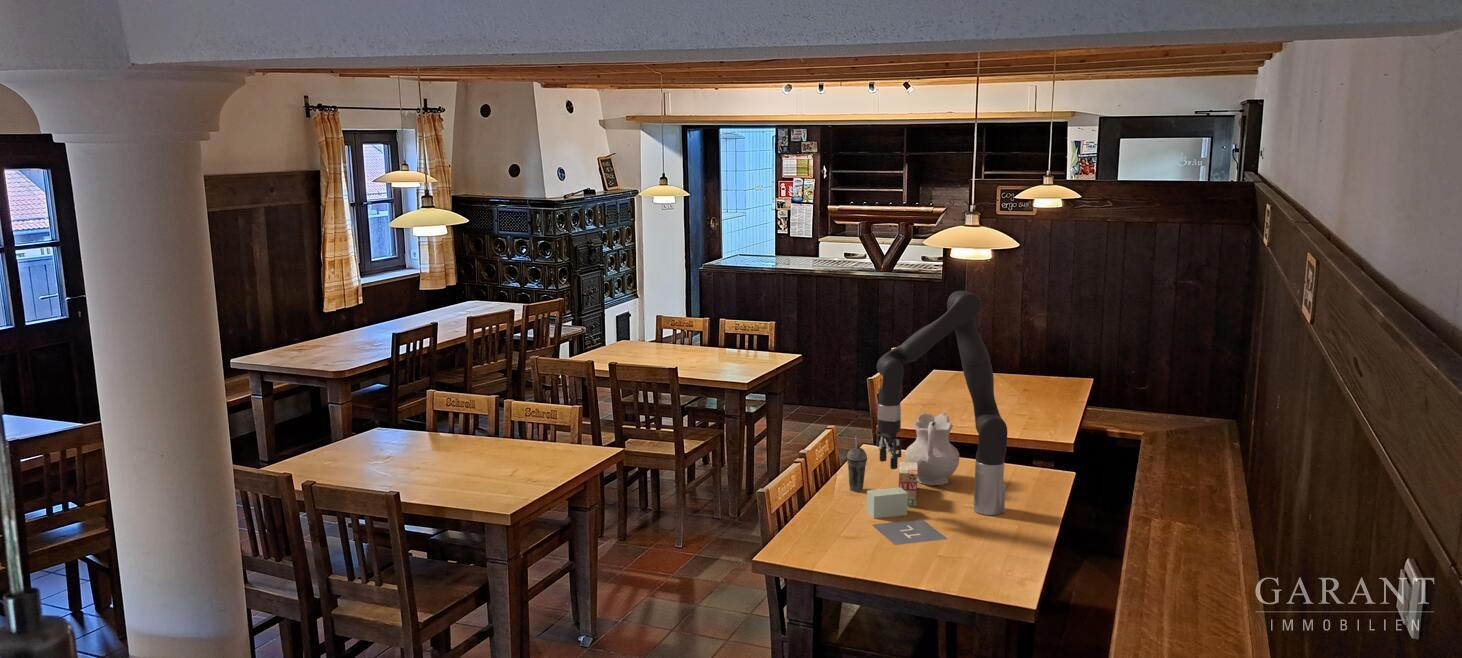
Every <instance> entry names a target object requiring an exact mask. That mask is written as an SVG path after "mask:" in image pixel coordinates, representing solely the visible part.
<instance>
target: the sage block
mask: <svg viewBox="0 0 1462 658" xmlns="http://www.w3.org/2000/svg"><path fill="white" fill-rule="evenodd" d="M907 506H908V493H907V492H906V491H904V490H903V489H902V488H900V487H899V486H898V487H892V488H891V487H890V488H881V489H878V488H877V489H870V490H869V489H867V490H866V510H865V511H866V513H867V514H868V516H870V517H872V519H880V518H881V519H882V517H883V518H892V517H901V516H907V515H908V507H907Z"/></svg>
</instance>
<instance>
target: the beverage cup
mask: <svg viewBox="0 0 1462 658" xmlns="http://www.w3.org/2000/svg"><path fill="white" fill-rule="evenodd" d="M846 456H847V457H846V460H847V466H848V469H847V470H848V479H849V480H848V484H849V485H848V486H849V490H850V492H853V491H854V492H855V493H858V492H859V491H860V492H862V491H863V487H864V482H865V473H866V466H867V461H868V455H867V452H866V451H865V450H864V448H862V447H859V446H858V436H857V435H855V446H854V447H852V448H851V449H849V450H848V453H847V455H846Z"/></svg>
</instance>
